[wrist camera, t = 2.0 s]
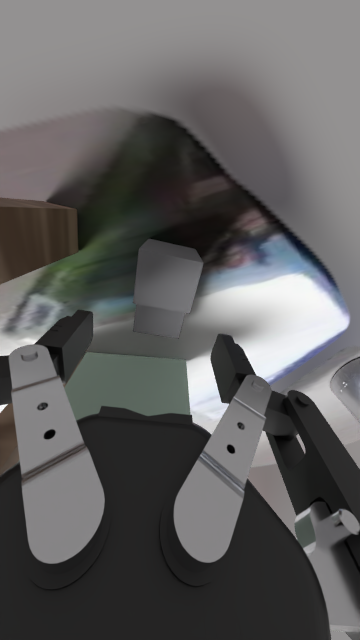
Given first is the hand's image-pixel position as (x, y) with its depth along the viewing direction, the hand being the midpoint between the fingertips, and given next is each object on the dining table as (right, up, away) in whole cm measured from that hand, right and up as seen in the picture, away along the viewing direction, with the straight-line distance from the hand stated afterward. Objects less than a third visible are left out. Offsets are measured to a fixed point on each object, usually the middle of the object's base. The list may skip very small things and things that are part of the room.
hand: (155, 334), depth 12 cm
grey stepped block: (0, +5, +10) cm, 11 cm away
